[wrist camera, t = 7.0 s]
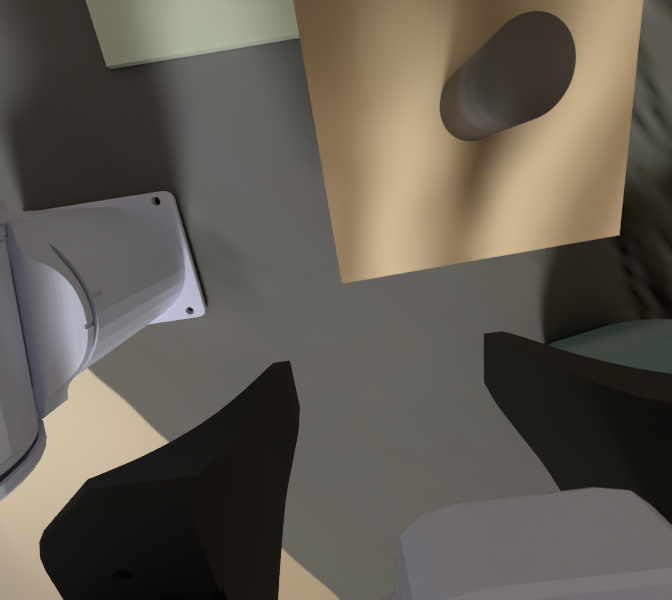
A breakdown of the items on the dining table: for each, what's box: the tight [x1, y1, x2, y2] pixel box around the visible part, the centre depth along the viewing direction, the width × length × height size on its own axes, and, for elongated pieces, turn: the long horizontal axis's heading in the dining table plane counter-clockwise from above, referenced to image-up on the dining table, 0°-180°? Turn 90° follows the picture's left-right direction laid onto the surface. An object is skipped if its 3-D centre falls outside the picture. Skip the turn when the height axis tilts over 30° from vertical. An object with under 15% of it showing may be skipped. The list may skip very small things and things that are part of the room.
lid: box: [293, 0, 643, 283], centre depth 13 cm, size 14×14×5 cm
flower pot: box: [549, 319, 672, 374], centre depth 20 cm, size 9×9×9 cm
